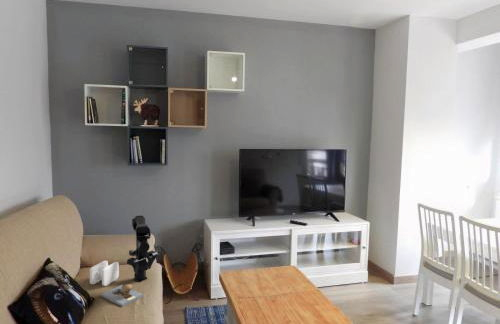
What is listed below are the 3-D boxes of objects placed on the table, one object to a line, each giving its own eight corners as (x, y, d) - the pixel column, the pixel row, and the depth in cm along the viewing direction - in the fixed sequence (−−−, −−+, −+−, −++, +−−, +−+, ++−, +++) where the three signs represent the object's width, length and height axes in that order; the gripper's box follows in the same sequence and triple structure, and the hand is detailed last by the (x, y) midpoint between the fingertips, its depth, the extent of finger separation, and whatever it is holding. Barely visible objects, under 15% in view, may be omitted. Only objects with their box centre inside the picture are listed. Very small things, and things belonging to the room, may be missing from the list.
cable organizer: (103, 288, 211) (102, 270, 210) (89, 285, 214) (88, 267, 213) (119, 278, 226) (118, 261, 224) (105, 275, 229) (105, 259, 227)
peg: (128, 295, 203) (127, 283, 202) (133, 298, 200) (133, 285, 199) (120, 299, 199) (119, 286, 198) (125, 302, 196) (125, 289, 195)
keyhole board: (101, 296, 202) (101, 293, 202) (121, 287, 213) (121, 284, 213) (122, 306, 191) (122, 304, 190) (143, 296, 202) (143, 294, 202)
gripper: (146, 239, 219) (146, 263, 221) (120, 248, 203) (121, 273, 205) (158, 243, 213) (158, 267, 214) (132, 252, 197) (133, 278, 199)
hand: (142, 271), depth 208 cm, fingers open, 9 cm apart
